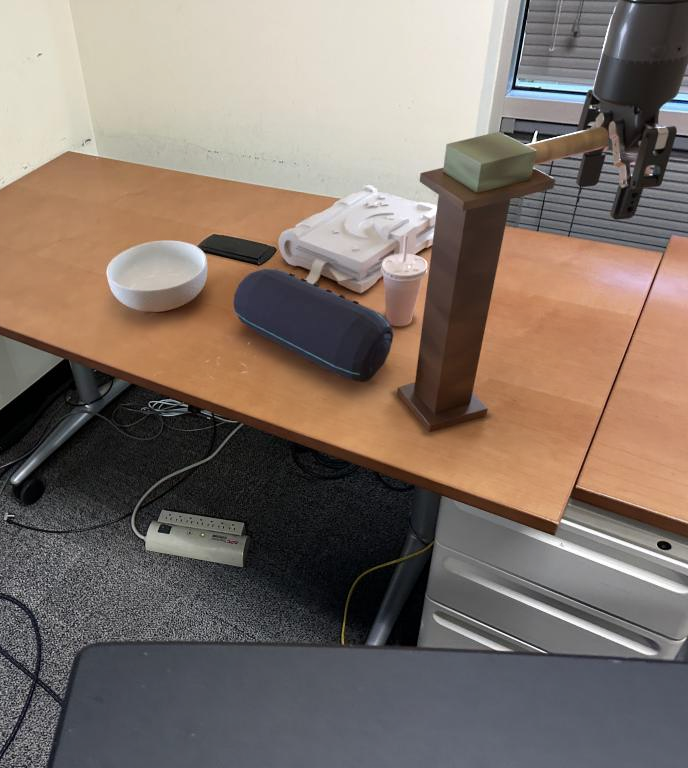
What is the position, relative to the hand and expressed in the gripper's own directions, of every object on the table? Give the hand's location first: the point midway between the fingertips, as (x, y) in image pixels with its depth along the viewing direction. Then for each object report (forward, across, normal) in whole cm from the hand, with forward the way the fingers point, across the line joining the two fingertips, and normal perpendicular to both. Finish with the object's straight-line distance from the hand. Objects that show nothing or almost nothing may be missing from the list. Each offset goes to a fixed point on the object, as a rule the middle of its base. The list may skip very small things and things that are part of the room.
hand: (602, 200), depth 77 cm
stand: (+24, -6, +16) cm, 29 cm away
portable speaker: (+24, +8, +32) cm, 40 cm away
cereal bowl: (+24, +26, +55) cm, 65 cm away
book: (+24, +34, +21) cm, 46 cm away
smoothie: (+24, +14, +18) cm, 33 cm away
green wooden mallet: (-7, -4, +11) cm, 14 cm away
